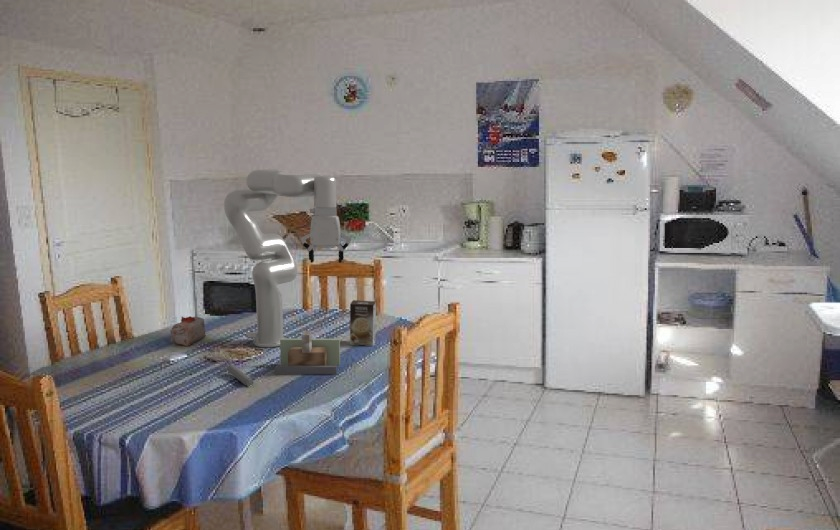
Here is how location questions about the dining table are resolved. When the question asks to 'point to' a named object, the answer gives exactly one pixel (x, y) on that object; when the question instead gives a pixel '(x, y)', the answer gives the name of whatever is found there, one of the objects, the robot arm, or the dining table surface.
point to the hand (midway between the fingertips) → (326, 262)
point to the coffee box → (362, 323)
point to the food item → (188, 331)
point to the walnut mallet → (307, 353)
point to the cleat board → (332, 359)
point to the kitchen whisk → (234, 371)
